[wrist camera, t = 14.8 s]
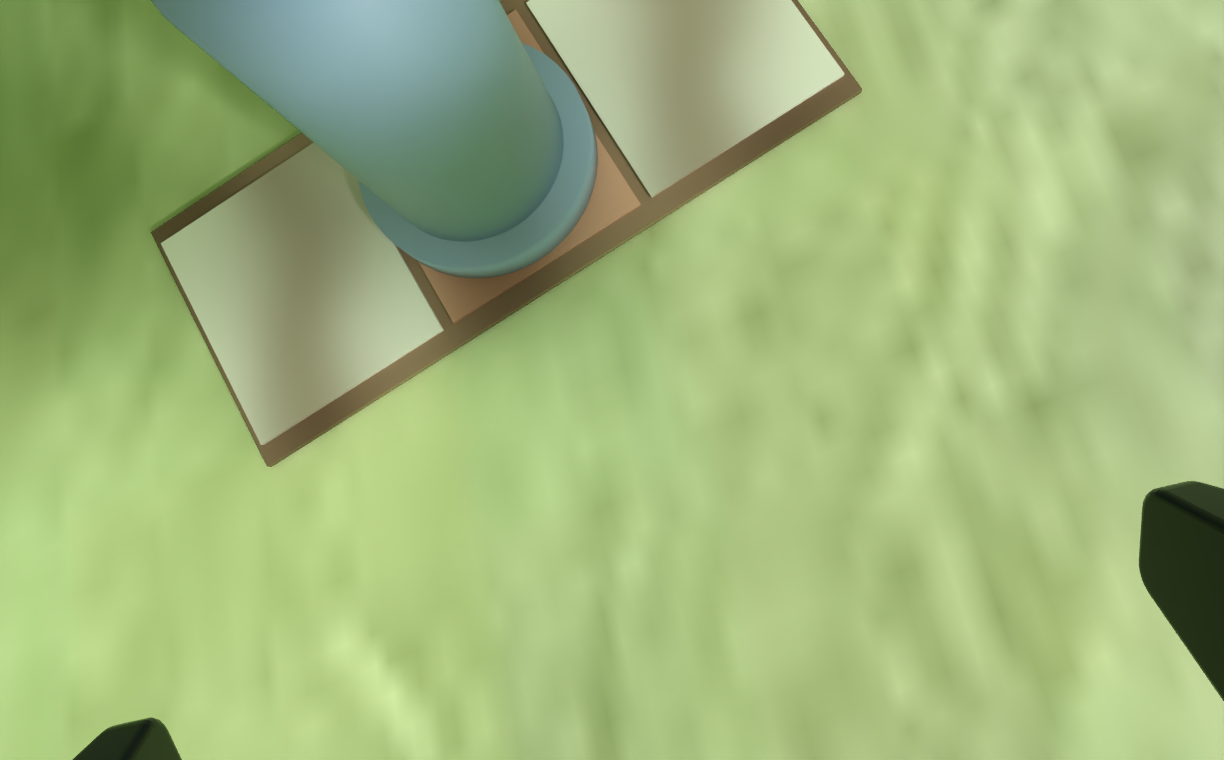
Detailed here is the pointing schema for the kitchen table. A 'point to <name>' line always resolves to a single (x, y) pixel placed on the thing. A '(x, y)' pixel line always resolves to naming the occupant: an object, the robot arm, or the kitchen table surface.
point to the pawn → (420, 117)
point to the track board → (466, 307)
